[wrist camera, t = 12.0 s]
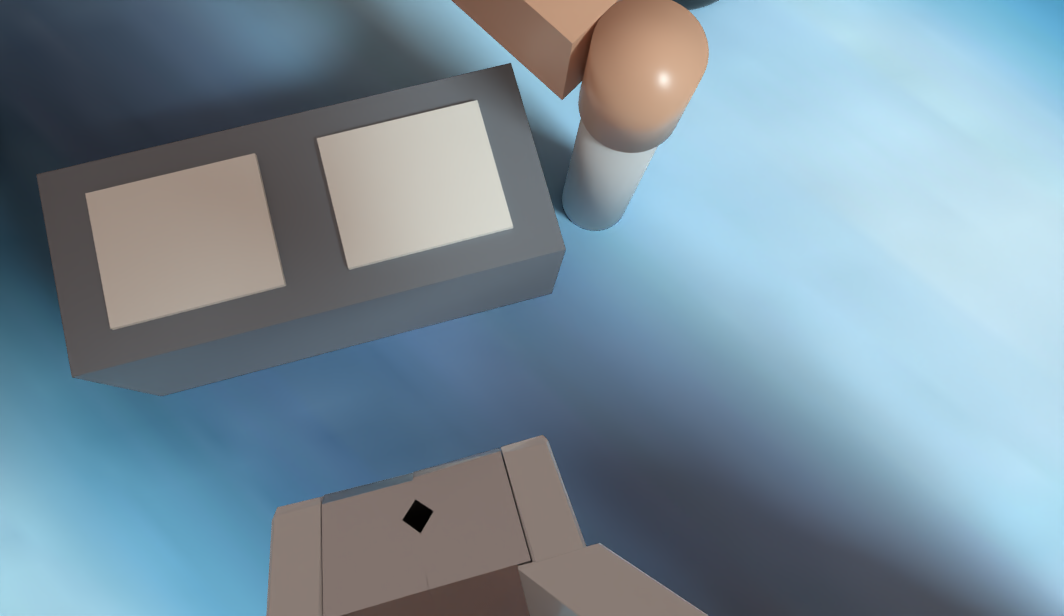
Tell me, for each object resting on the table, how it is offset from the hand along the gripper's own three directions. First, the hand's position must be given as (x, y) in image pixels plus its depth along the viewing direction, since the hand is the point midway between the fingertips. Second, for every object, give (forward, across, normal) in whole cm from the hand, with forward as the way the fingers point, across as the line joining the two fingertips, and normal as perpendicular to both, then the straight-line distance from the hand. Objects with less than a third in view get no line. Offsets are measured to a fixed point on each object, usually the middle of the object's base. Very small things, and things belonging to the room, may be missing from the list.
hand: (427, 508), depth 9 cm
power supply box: (+20, +1, +7) cm, 21 cm away
